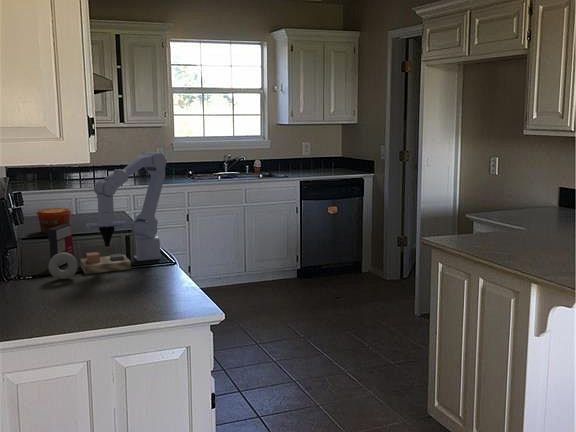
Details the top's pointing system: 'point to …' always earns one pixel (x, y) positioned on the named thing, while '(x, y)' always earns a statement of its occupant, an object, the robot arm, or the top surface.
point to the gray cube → (116, 257)
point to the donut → (63, 258)
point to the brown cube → (93, 257)
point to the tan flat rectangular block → (105, 265)
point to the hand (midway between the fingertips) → (107, 246)
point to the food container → (53, 218)
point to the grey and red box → (60, 240)
